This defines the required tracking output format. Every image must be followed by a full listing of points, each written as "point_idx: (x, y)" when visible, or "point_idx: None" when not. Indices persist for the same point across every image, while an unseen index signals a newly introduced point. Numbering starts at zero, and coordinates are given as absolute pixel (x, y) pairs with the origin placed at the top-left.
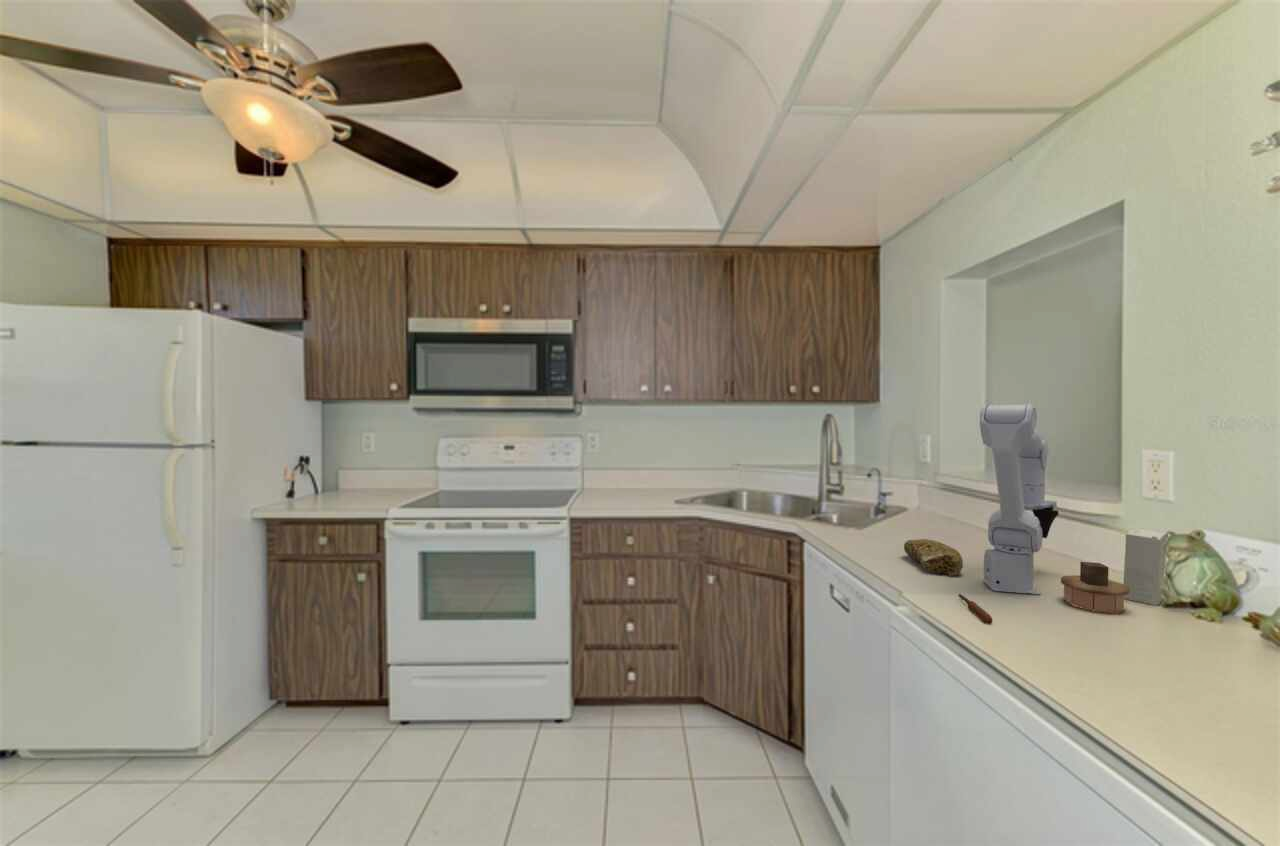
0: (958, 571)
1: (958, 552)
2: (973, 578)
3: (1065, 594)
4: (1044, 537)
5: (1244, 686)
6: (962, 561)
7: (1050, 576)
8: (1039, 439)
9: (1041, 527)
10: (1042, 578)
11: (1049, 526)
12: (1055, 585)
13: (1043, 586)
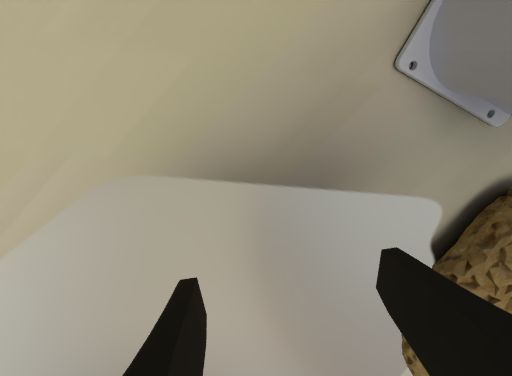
0: (506, 197)
1: (502, 270)
2: (477, 163)
3: None
4: (197, 281)
5: None
6: (508, 224)
7: (198, 159)
8: None
9: (190, 366)
10: (251, 139)
11: (152, 354)
12: (283, 45)
13: (344, 40)
